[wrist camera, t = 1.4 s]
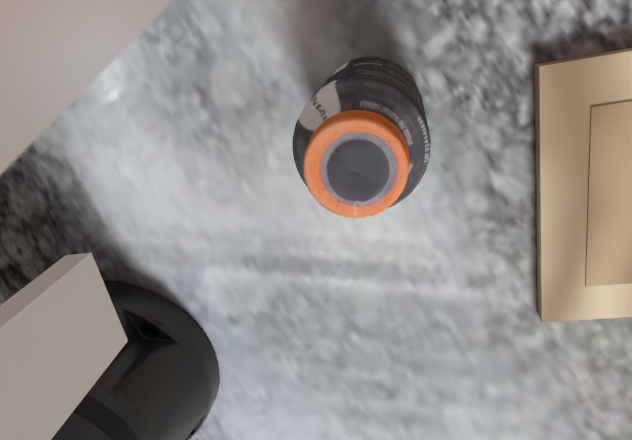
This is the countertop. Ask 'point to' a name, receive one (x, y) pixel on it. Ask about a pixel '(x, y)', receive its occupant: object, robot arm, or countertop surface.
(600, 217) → the maple board
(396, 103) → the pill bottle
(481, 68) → the countertop surface
